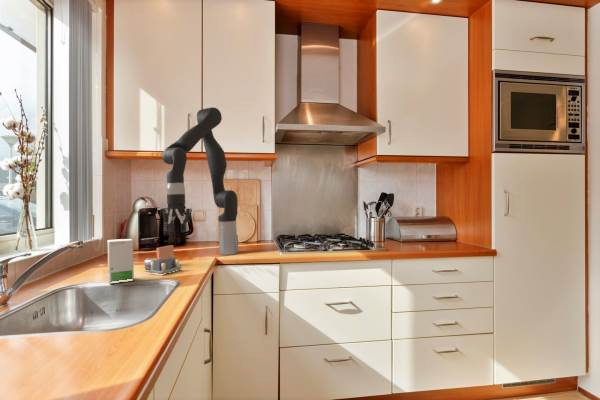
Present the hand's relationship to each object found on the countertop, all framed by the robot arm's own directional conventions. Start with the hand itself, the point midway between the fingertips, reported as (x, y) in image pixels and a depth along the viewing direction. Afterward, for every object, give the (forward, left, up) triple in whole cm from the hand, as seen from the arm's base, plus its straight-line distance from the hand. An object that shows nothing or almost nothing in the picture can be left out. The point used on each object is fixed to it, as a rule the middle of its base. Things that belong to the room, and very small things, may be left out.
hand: (177, 231), depth 151 cm
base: (+9, -6, -15) cm, 19 cm away
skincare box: (+27, 0, -16) cm, 31 cm away
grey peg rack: (+5, -6, -14) cm, 16 cm away
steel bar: (+10, +4, -14) cm, 18 cm away
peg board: (+10, +3, -15) cm, 19 cm away
